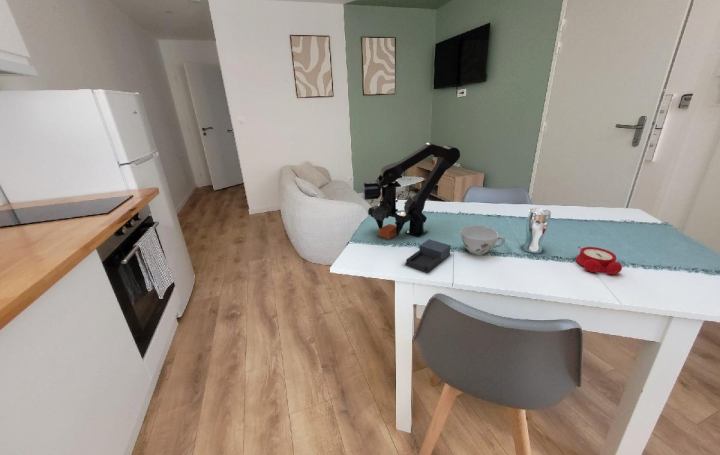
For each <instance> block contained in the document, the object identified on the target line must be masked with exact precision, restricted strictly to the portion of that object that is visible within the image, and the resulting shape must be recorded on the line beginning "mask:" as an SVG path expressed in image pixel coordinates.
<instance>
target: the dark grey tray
mask: <svg viewBox="0 0 720 455" xmlns="http://www.w3.org/2000/svg"><path fill="white" fill-rule="evenodd" d="M418 248H419V249H418V251H416V252H415V253H413V254H412V255H410V256H409V257H407V258H406V259H405V260H406V261H405V263H404V265H405V266H407V267H410V268H411V269H415V270H418V271H420V272H423V273H426V274H429V273H430V272H432V271H433V270H434V269H435V268H436V267H437V266H439V265H440V264H441V263H442V262H443V261H445V260H446V259H447V258H449V256H451V248H452V245H450V244H447V243H444V242H441V241H437V240H433V239H430V238H428V239H427V240H425V241H424V242H422V243H421V244H419V246H418Z"/></svg>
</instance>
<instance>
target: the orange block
mask: <svg viewBox="0 0 720 455" xmlns="http://www.w3.org/2000/svg"><path fill="white" fill-rule="evenodd" d="M378 230H379V231H378V232H379V234H378V235H379V237H381V238H383V239H387V240H390V239H392V238H393V237H395V236H397V234H396V224H392V223H388V224H386V225H384V226H383V227H382V228H380V229H379V228H378Z"/></svg>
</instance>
